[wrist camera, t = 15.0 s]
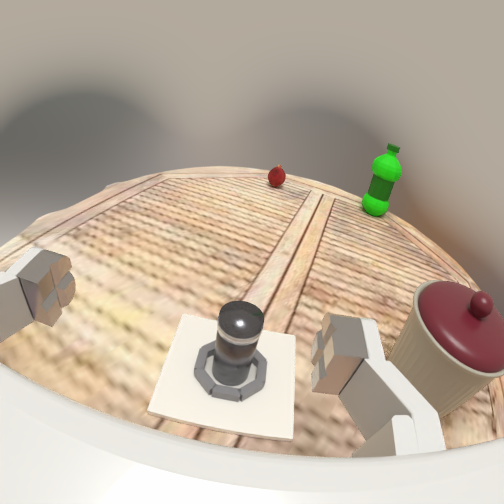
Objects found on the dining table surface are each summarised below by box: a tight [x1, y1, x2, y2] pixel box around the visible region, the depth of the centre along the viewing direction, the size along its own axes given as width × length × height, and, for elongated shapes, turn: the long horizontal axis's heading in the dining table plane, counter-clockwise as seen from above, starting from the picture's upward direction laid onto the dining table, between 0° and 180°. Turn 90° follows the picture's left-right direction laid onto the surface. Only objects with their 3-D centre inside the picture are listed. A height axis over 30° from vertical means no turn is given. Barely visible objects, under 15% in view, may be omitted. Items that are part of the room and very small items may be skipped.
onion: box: [268, 165, 286, 187], centre depth 101 cm, size 6×6×8 cm
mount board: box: [147, 313, 295, 442], centre depth 40 cm, size 18×18×2 cm
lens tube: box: [212, 301, 264, 386], centre depth 37 cm, size 5×5×11 cm
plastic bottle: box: [362, 143, 401, 216], centre depth 94 cm, size 10×10×25 cm
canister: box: [387, 280, 504, 419], centre depth 35 cm, size 18×18×21 cm
